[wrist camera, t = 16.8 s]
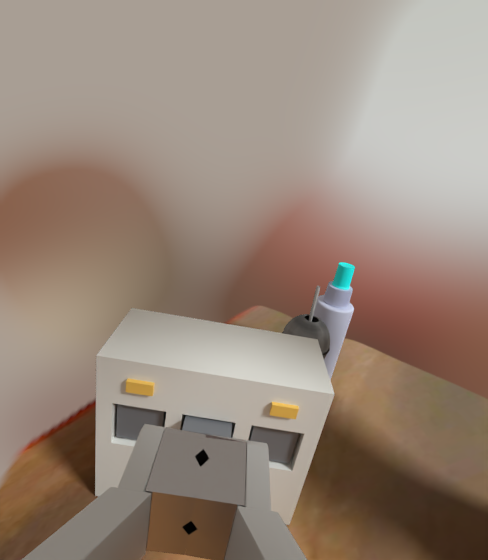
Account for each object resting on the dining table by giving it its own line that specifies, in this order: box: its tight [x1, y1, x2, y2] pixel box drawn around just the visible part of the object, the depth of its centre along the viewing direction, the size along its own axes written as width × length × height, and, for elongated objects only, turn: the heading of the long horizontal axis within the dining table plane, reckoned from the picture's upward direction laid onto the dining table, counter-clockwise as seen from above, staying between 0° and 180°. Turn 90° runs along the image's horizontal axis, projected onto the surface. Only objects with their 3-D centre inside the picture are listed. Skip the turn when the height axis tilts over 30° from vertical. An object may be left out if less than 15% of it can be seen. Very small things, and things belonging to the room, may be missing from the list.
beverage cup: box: [282, 286, 330, 359], centre depth 51 cm, size 7×7×20 cm
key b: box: [248, 425, 299, 464], centre depth 35 cm, size 4×4×4 cm
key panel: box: [95, 308, 335, 525], centre depth 37 cm, size 21×9×18 cm, turn 88°
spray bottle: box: [313, 262, 355, 380], centre depth 57 cm, size 6×6×22 cm
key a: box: [116, 404, 166, 440], centre depth 34 cm, size 4×4×4 cm
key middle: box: [182, 415, 232, 438], centre depth 33 cm, size 4×4×4 cm
